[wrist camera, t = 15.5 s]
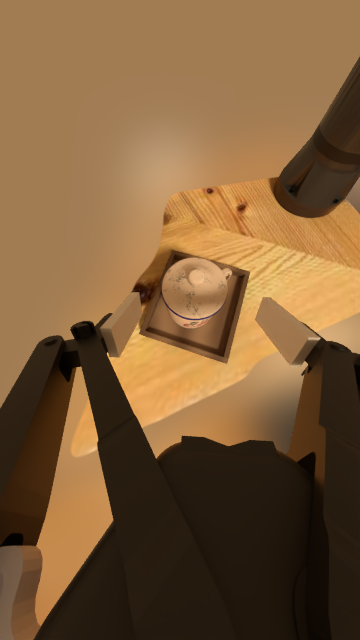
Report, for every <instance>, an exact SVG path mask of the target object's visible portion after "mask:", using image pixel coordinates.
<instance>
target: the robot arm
mask: <svg viewBox="0 0 360 640" xmlns="http://www.w3.org/2000/svg"><path fill="white" fill-rule="evenodd" d="M359 177H360V57H359V59H358V61H357V62H356V64H355V66H354V67H353V69H352V71H351V72H350V74H349V76H348V77H347V79H346V81H345V82H344V84H343V86H342V87H341V89H340V91H339V92H338V94H337V96H336V97H335V99H334V101H333V102H332V104H331V106H330V107H329V109H328V111H327V112H326V114H325V115H324V117H323V119H322V120H321V122H320V124H319V125H318V127H317V129H316V130H315V132H314V134H313V135H312V137H311V138H310V139H309V141H308V142H307V143H306V144H305V145H304V146H303V148H302V149H301V150H300V151H299V152H298V153H297V154H296V156H295V157H294V158H293V159H292V160H291V161H290V162H289V164H288V165H287V166H286V167H285V168H284V169H283V171H282V173H281V174H280V176H279V178H278V180H277V181H276V184H275V195H276V198H277V200H278V201H279V203H280V204H281V205H282V206H283V207H284V208H285V209H287V210H288V211H290V212H291V213H293V214H296V215H298V216H302V217H308V218H316V217H321V216H325V215H327V214H329V213H330V212H332V211H333V210H334V209H335V208H336V207H337V206H338V205H339V204H340V203H341V202H342V201H343V200H344V199H345V197H346V196H347V195H348V193H349V192H350V190H351V189H352V187H353V185H354V184H355V183H356V181H357V180H358V178H359ZM141 316H142V310H141V303H140V295H139V292H132V293H131V294H130V295H129V296H128V297H127V298H126V300H125V301H124V302H123V303H122V304H121V305H120V306H119V307H118V308H117V310H116V311H115V312H114V313H109V314H107V315H106V316H104V317H103V318H102V320H100V322H99V323H98V324H97V325H96V326H94V324H93V322H91V321H82V322H79V323H76V324H75V325H73V326H72V327H71V329H70V330H71V332H72V334H73V336H74V338H75V339H72V340H66V341H64V339H63V337H61V336H58V335H57V336H51V337H47V338H45V339H43V340H42V341H40V342H39V343H38V344H37V346H36V348H35V349H34V351H33V353H32V355H31V356H30V358H29V360H28V362H27V363H26V365H25V367H24V369H23V370H22V372H21V374H20V375H19V377H18V379H17V381H16V382H15V384H14V386H13V388H12V389H11V391H10V393H9V394H8V396H7V398H6V400H5V402H4V403H3V405H2V407H1V408H0V640H360V354H357V353H352V352H351V350H349V349H348V348H347V347H345V346H344V345H342V344H339V343H337V342H332V341H326V340H325V339H323V338H322V337H321V336H319V335H318V334H317V333H316V332H314V331H313V330H312V329H310V327H308V326H307V325H306V324H304V323H302V322H300V321H299V320H298V319H296V318H295V317H294V316H293V315H291V314H290V313H289V312H288V311H286V310H285V309H284V308H283V307H282V306H280V305H279V304H278V303H277V302H275V301H274V300H273V299H272V298H268V297H263V299H262V302H261V304H260V307H259V310H258V313H257V316H256V318H255V320H256V321H257V323H258V324H259V325H260V327H261V328H262V329H263V331H264V332H265V333H266V335H267V336H268V337H269V339H270V340H271V341H272V342H273V344H274V345H275V346H276V348H277V349H278V350H279V352H280V353H281V354H282V356H283V357H284V358H285V359H286V361H287V362H288V363H289V365H290V366H301V365H302V364H303V362H304V361H306V362H307V363H308V366H307V367H306V369H305V370H304V371H303V373H302V374H301V375H302V376H303V375H304V379H303V384H302V389H301V394H300V400H299V404H298V409H297V414H296V419H295V424H294V429H293V434H292V439H291V443H290V448H289V451H288V453H287V455H286V454H284V453H282V452H280V451H278V450H276V448H275V445H274V443H273V442H272V441H256V440H249V441H246V442H242V443H239V444H236V445H232V446H226V445H223V444H220V443H218V442H215V441H212V440H210V439H207V438H205V437H192V436H182V439H181V440H182V441H181V442H180V443H176V444H174V445H172V446H170V447H169V448H167V449H166V450H165V451H163V452H162V453H161V454H160V455H159V456H158V458H157V459H156V458H155V456H154V454H153V451H152V449H151V447H150V445H149V443H148V441H147V438H146V436H145V434H144V432H143V430H142V428H141V425H140V423H139V421H138V419H137V417H136V416H135V415H134V413H133V411H132V408H131V406H130V404H129V402H128V400H127V397H126V395H125V393H124V391H123V389H122V387H121V384H120V382H119V380H118V378H117V376H116V373H115V371H114V369H113V367H112V365H111V363H110V360H109V358H108V356H107V352H108V353H109V356H110V357H120V355H121V353H122V351H123V350H124V348H125V346H126V344H127V342H128V340H129V338H130V337H131V335H132V333H133V331H134V329H135V327H136V325H137V323H138V322H139V320H140V318H141ZM80 366H81V367H82V371H83V375H84V379H85V383H86V387H87V392H88V396H89V400H90V404H91V409H92V413H93V417H94V421H95V426H96V430H97V434H98V443H97V445H98V451H99V457H100V461H101V465H102V470H103V475H104V479H105V484H106V488H107V493H108V497H109V501H110V506H111V511H112V515H113V522H112V523H111V525H110V526H109V528H108V529H107V531H106V532H105V534H104V535H103V536H102V538H101V539H100V541H99V542H98V544H97V545H96V546H95V548H94V549H93V551H92V552H91V554H90V555H89V556H88V558H87V559H86V561H85V562H84V564H83V565H82V567H81V568H80V570H79V571H78V572H77V574H76V575H75V577H74V578H73V580H72V581H71V583H70V584H69V585H68V587H67V588H66V590H65V591H64V593H63V594H62V596H61V597H60V599H59V600H58V601H57V603H56V604H55V606H54V607H53V609H52V610H51V612H50V613H49V615H48V616H47V618H46V619H45V621H44V622H43V624H42V626H40V625H39V624H38V623H37V619H36V614H35V598H36V593H37V588H38V585H39V581H40V576H41V571H42V555H41V551H40V550H39V549H38V548H37V547H36V545H37V542H38V539H39V535H40V532H41V529H42V526H43V523H44V520H45V516H46V512H47V508H48V504H49V500H50V495H51V490H52V486H53V481H54V476H55V471H56V466H57V460H58V456H59V451H60V446H61V441H62V436H63V431H64V426H65V421H66V416H67V411H68V407H69V402H70V397H71V391H72V387H73V381H74V377H75V372H76V367H80Z"/></svg>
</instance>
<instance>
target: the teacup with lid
mask: <svg viewBox="0 0 360 640" xmlns="http://www.w3.org/2000/svg"><path fill="white" fill-rule="evenodd" d="M231 275H232V271H231V270H230V269H229V268H224V269H222V270H221V269H220V268H219V267H218V266H217V265H215V264H214V263H213V262H211V261H209V260H206V259H203V258H196V257H193V258H186V259H183V260H180V261H178V262H176V263H175V264H174V265H172V266H171V267H170V268H169V269H168V271H167V272H166V274H165V276H164V278H163V281H162V286H161V292H162V297H163V300H164V302H165V304H166V306H167V307H168V310H169V313H170V316H171V318H172V319H173V320H174V321H175V322H176V323H177V324H178V325H180V326H182V327H184V328H198V327H201V326H203V325H204V324H206V323H207V322H208V321H209V319H210V318H211V317H212V316H213V315H215V314H216V313H217V312H218V311H219V310H220V309H221V308H222V307H223V305H224V303H225V301H226V299H227V294H228V285H227V280H228V279H229V278H230V277H231Z"/></svg>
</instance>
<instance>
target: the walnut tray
mask: <svg viewBox="0 0 360 640" xmlns="http://www.w3.org/2000/svg"><path fill="white" fill-rule="evenodd" d="M193 257H196V256H192V255H189V254H185V253H182V252H178V251H174V250H172V252H171V255H170V257H169V260H168V262H167V265H166V267H165V270H164V272H163V275H162V277H161V280H160V282H159V285H158V287H157V290H156V292H155V295H154V297H153V300H152V302H151V305H150V307H149V310H148V312H147V315H146V318H145V320H144V323H143V325H142V328H141V330H140V333H139V334H141V335H143V336H146V337H149V338H152V339H155V340H158V341H161V342H164V343H167V344H170V345H173V346H176V347H179V348H182V349H185V350H188V351H191V352H193V353H196V354H199V355H202V356H205V357H208V358H211V359H214V360H217V361H220V362H223V363H227V362H228V358H229V354H230V350H231V346H232V342H233V338H234V334H235V330H236V326H237V322H238V318H239V314H240V310H241V306H242V302H243V298H244V294H245V290H246V287H247V283H248V279H249V275H250V272H249V271H246V270H242V269H238V268H235V267H231V266H228V265H224V264H221V263H217V262H214V261H211V262H213V263H214V264H215V265H217V266H218V267H219V268H220V269H221V270H222V269H224V268H229V269H230V270H231V271H232V275H231V277H230V278H229V279H228V280H227V285H228V294H227V299H226V301H225V303H224V305H223V307H222V308H221V309H220V310H219V311H218V312H217V313H216V314H215V315H213V316H212V317H211V318H210V319H209V321H208V322H207V323H206V324H204V325H203V326H201V327H198V328H184V327H182V326H180V325H178V324H177V323H176V322H175V321H174V320H173V319H172V318H171V316H170V313H169V310H168V307H167V306H166V304H165V302H164V300H163V297H162V292H161V286H162V281H163V278H164V276H165V274H166V272H167V271H168V269H169V268H170V267H171V266H172V265H174V264H175V263H176V262H178V261H180V260H183V259H186V258H193ZM196 258H199V257H196ZM209 261H210V260H209Z"/></svg>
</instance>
